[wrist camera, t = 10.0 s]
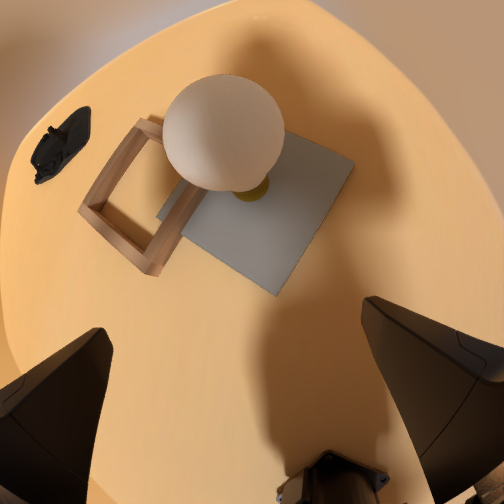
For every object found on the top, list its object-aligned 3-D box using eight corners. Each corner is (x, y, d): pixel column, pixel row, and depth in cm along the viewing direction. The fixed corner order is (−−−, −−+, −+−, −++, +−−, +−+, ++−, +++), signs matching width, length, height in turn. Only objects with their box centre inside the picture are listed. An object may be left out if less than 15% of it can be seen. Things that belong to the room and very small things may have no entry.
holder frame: (232, 162, 20) (225, 150, 19) (157, 277, 20) (144, 274, 18) (149, 127, 23) (140, 117, 21) (89, 217, 23) (77, 211, 21)
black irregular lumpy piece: (90, 100, 28) (70, 82, 24) (99, 137, 26) (73, 116, 21) (37, 155, 29) (16, 142, 24) (39, 200, 26) (12, 187, 22)
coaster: (354, 165, 18) (354, 162, 18) (276, 296, 18) (275, 296, 17) (234, 114, 21) (233, 111, 21) (159, 218, 21) (156, 217, 20)
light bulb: (207, 168, 20) (141, 81, 10) (281, 145, 19) (255, 38, 10) (221, 239, 19) (138, 174, 9) (304, 215, 18) (295, 120, 8)
